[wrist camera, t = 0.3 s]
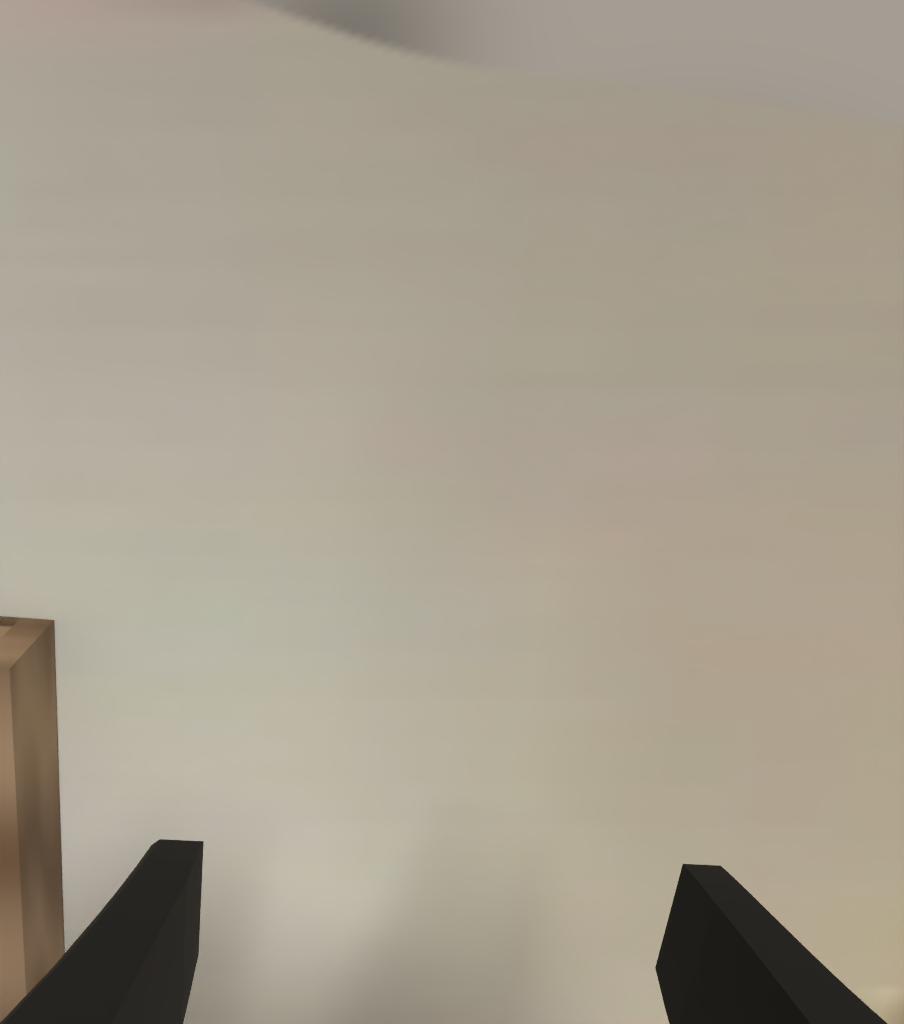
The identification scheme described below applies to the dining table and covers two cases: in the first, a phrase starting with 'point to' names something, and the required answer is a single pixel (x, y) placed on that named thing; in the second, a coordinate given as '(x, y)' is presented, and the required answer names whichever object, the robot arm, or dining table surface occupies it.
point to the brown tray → (28, 810)
